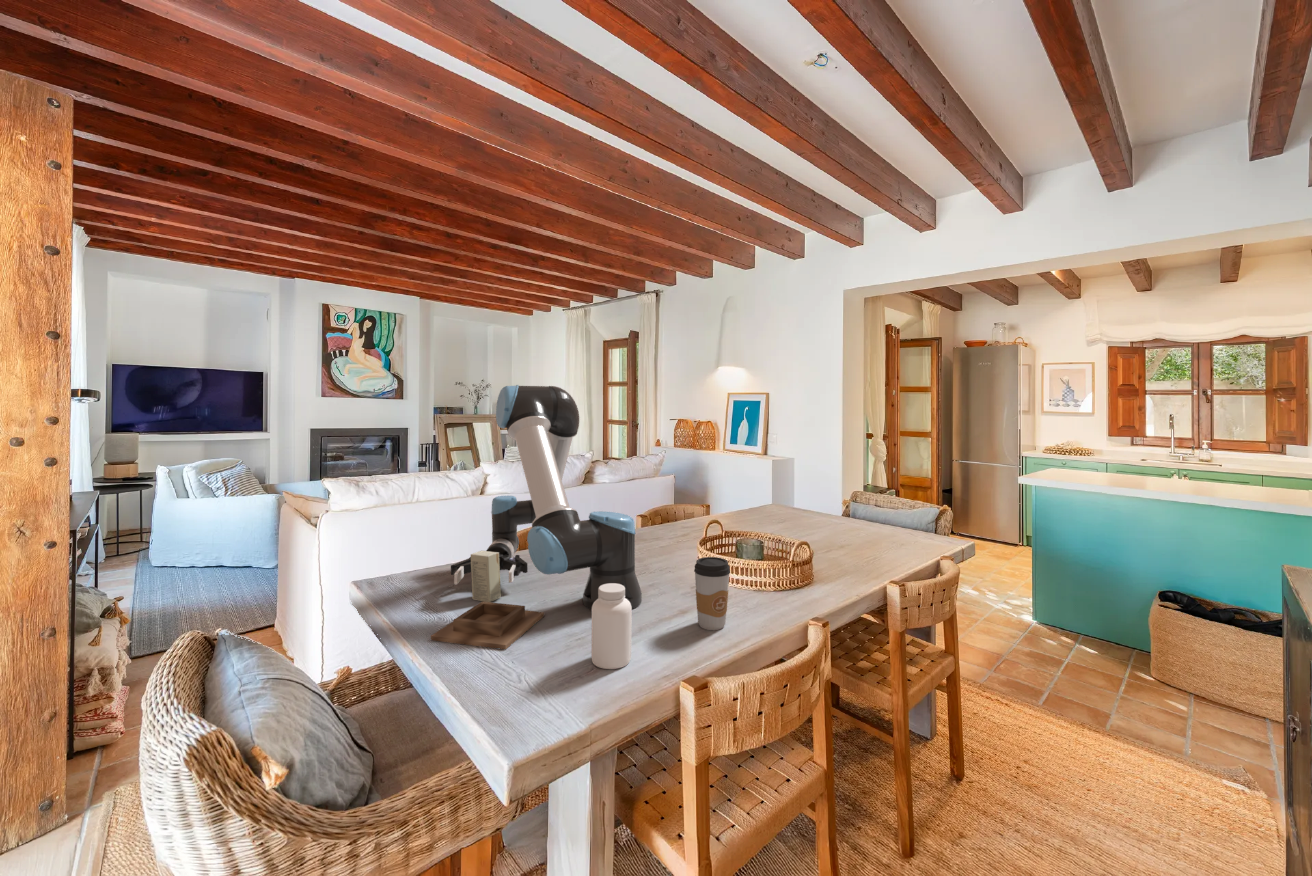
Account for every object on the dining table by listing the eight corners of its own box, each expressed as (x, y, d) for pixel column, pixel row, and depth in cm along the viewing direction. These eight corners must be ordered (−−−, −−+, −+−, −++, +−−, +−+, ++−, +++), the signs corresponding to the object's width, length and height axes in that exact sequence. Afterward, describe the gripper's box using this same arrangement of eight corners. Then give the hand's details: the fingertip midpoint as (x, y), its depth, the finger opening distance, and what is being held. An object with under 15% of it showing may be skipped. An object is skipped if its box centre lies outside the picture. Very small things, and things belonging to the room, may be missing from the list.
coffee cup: (706, 635, 118) (706, 569, 117) (687, 621, 125) (687, 559, 124) (737, 628, 122) (737, 563, 121) (716, 615, 129) (717, 554, 128)
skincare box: (501, 597, 140) (500, 552, 140) (489, 603, 136) (489, 556, 136) (482, 594, 143) (481, 549, 142) (470, 599, 139) (469, 553, 138)
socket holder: (544, 616, 128) (543, 602, 128) (505, 649, 111) (505, 633, 111) (477, 609, 133) (477, 595, 132) (430, 640, 115) (430, 624, 115)
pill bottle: (626, 672, 101) (625, 595, 100) (586, 668, 103) (585, 592, 102) (635, 653, 109) (635, 581, 108) (598, 649, 111) (598, 579, 110)
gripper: (541, 566, 159) (532, 590, 138) (455, 568, 156) (433, 594, 135) (541, 541, 158) (532, 562, 137) (455, 543, 156) (432, 565, 135)
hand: (483, 578), depth 136 cm, fingers open, 13 cm apart
